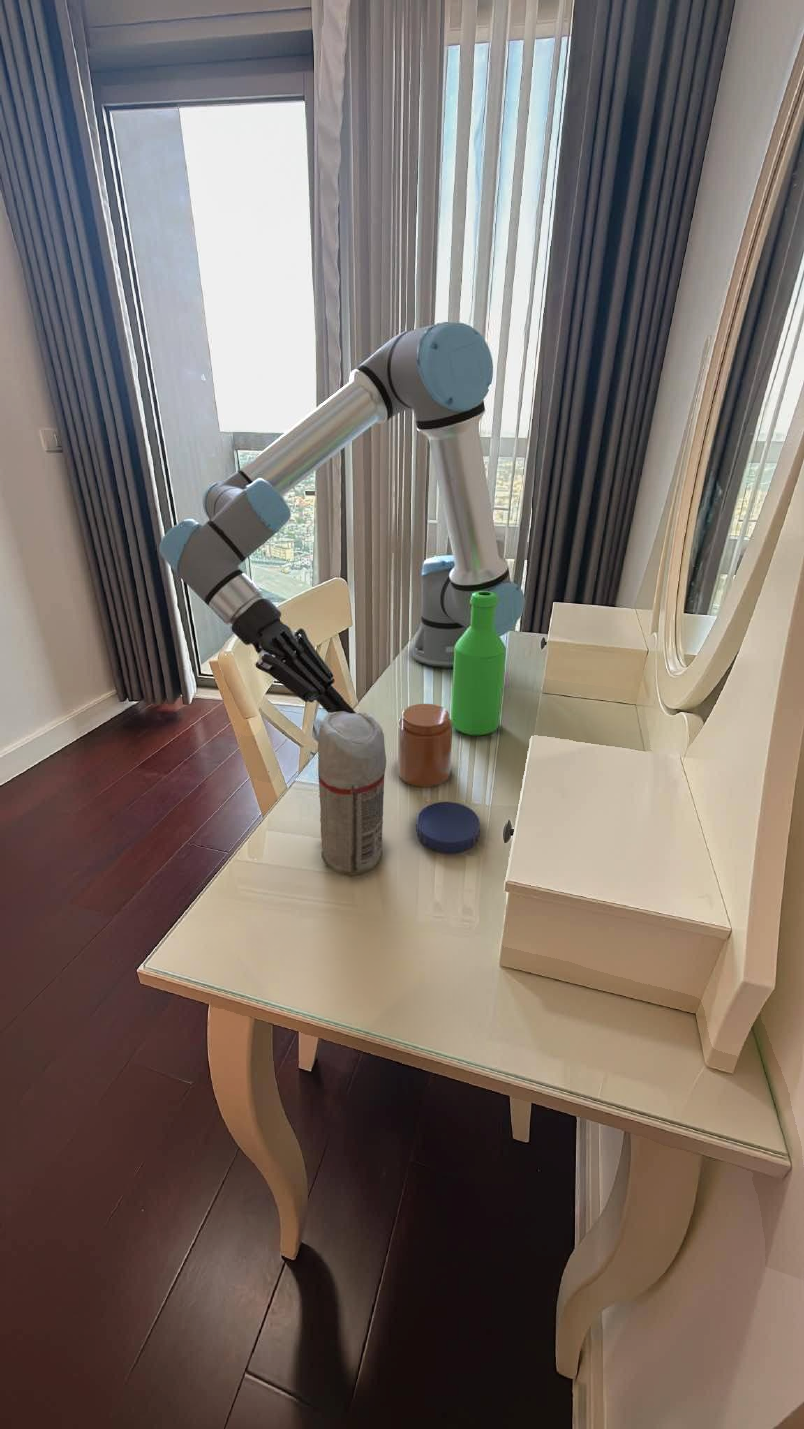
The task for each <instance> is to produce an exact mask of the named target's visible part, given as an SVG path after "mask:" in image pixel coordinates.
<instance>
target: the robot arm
mask: <svg viewBox="0 0 804 1429" xmlns="http://www.w3.org/2000/svg"><path fill="white" fill-rule="evenodd" d="M493 377H494V362H493V356H492V352H491V350H490V347H489V345H488V343H487V341H486V340H485V338H484V337H483V335H482V334H481V333H480V332H479V331H477V329H475V328H474V327H473V326H472V325H469V324H466V323H464V322H448V321H444V322H439V323H435V324H431V325H428V326H427V325H426V326H423V327H419V328H412V329H408V330H405V331H403V332H400V333H399V334H397V335H395V336H394V337H392V338H390V339H389V340H388V341H387V342H386V343H384V344H383V345H382V346H381V347H380V348H379V349H377V350H376V351H375V352H374V353H373V354H372V355H370V357H368V358H366V359H365V360H364V361H363V362H362V363H361V364H360V365H358V366H357V367H356V368H355V369H353V370H352V371H351V372H350V374H349V382H348V383H347V384H345V385H344V386H343V387H341V388H340V389H339V390H338V391H337V392H335V393H334V394H333V395H331V396H330V397H329V398H328V399H326V400H325V401H324V402H322V403H321V404H319V405H318V407H316V408H315V409H314V410H312V411H311V412H310V413H309V414H307V415H306V416H305V417H304V418H302V419H300V420H299V421H298V422H296V424H295V425H294V426H292V427H290V429H288V430H287V431H286V432H285V433H283V434H282V435H281V436H280V437H279V438H277V439H276V440H275V441H273V442H272V443H271V444H270V445H268V446H267V447H266V448H265V449H263V450H262V451H261V452H259V453H258V454H257V455H256V456H255V457H253V458H252V459H250V460H249V461H248V462H246V463H245V464H244V465H243V466H242V467H241V468H239V469H238V470H237V471H236V472H234V473H233V474H231V475H230V476H229V477H227V478H226V479H225V480H223V481H217V482H214V483H212V484H210V485H209V486H208V487H207V488H206V490H205V491H204V493H203V496H202V507H203V511H204V513H205V515H206V517H207V519H209V520H207V521H206V522H205V523H203V524H201V523H199V522H197V521H196V520H195V519H192V518H186V519H183V520H181V521H180V522H179V523H178V524H175V525H174V526H171V528H170V529H169V530H167V531H166V533H165V534H164V536H163V537H162V538H161V541H160V543H159V550H158V551H159V554H160V555H161V557H162V558H163V560H164V561H165V562H166V563H167V564H168V565H169V567H170V568H171V569H172V570H173V571H174V572H175V574H176V575H177V576H178V577H179V578H180V579H181V580H182V581H183V582H184V583H185V584H186V585H187V586H188V587H189V588H190V589H191V590H192V591H193V592H194V593H195V594H196V595H197V596H198V597H199V598H200V599H201V600H202V601H203V602H204V603H205V604H206V605H207V606H208V607H209V608H210V609H211V610H212V611H213V612H214V613H215V614H216V616H217V617H218V618H220V620H221V621H222V622H223V623H224V624H225V625H227V626H231V628H230V629H231V632H233V634H234V635H235V636H236V637H237V638H238V639H239V640H240V641H241V642H242V643H243V644H244V645H245V646H251V645H252V646H253V648H254V651H255V652H256V653H257V654H258V660H257V661H256V662H255V664H254V665H255V666H254V667H255V668H256V669H258V670H259V671H261V672H264V673H266V674H268V675H270V676H271V677H272V678H273V679H274V680H276V681H277V682H278V683H280V684H281V685H282V686H284V687H285V688H286V689H287V690H289V691H290V692H291V693H293V694H294V695H296V696H297V697H298V698H299V699H300V700H302V701H303V702H304V703H308V702H309V703H312V704H313V703H314V701H316V702H317V703H318V704H319V705H320V706H321V707H322V708H323V709H324V710H325V711H326V712H327V714H328V713H333V712H341V711H344V712H347V713H350V714H352V713H357V712H356V711H355V709H353V708H352V706H350V704H349V703H348V702H347V701H345V699H344V697H343V696H342V695H341V694H340V693H339V691H337V690H336V689H335V687H333V684H334V683H335V679H334V674H333V672H332V671H331V669H330V668H329V667H328V665H327V663H326V662H325V661H324V660H323V658H322V657H321V656H320V654H319V653H318V651H317V650H316V649H315V647H314V646H313V644H312V642H311V641H310V640H309V638H308V635H307V633H306V631H305V630H304V629H303V628H302V627H300V628H299V629H297V630H292V629H291V628H290V627H289V626H288V625H287V624H285V623H284V622H282V621H281V618H282V612H281V610H280V609H279V608H278V607H277V606H276V605H275V604H274V603H273V602H272V601H271V599H269V597H265V596H264V597H263V594H264V593H263V590H261V589H260V588H259V586H258V585H256V583H255V582H254V581H253V580H252V579H251V578H250V577H249V576H248V575H247V574H246V573H245V572H244V571H243V570H242V569H241V568H240V567H239V566H240V565H241V564H242V563H243V562H245V561H246V560H247V559H248V558H249V557H251V555H253V554H254V553H255V552H256V551H257V550H258V549H260V548H261V546H263V545H264V544H266V543H267V541H269V540H270V539H271V538H272V537H273V536H275V535H276V534H278V533H279V532H280V530H281V529H282V528H283V527H284V526H285V525H286V524H287V523H288V522H289V521H290V519H291V518H292V511H291V509H290V507H289V505H288V504H287V502H286V500H285V499H284V498H283V497H284V496H285V495H286V494H288V493H289V492H290V491H291V490H293V489H294V488H295V487H297V486H298V485H299V484H300V483H302V482H303V481H304V480H305V479H307V478H308V477H309V476H310V475H312V474H313V473H314V472H315V471H316V470H318V469H319V468H321V467H322V466H323V465H324V464H326V463H327V462H328V461H329V460H330V459H332V458H333V457H334V456H336V455H337V454H338V453H339V452H341V450H343V449H344V448H345V447H347V446H348V445H349V444H351V442H353V441H355V439H356V438H358V437H359V436H361V434H363V433H364V432H365V431H367V430H368V429H369V428H371V426H372V425H374V424H378V425H384V424H385V423H386V422H388V421H389V420H390V419H391V418H393V417H394V416H396V415H398V414H400V413H403V412H406V411H410V410H412V411H413V412H412V413H413V415H414V416H413V417H414V421H415V426H416V429H417V431H418V432H419V433H420V434H422V435H424V436H425V437H427V439H428V443H429V448H430V453H431V457H432V462H433V468H434V472H435V476H436V480H437V482H436V483H437V486H438V491H439V496H440V500H441V505H442V510H443V514H444V520H445V525H446V530H447V534H448V539H449V544H450V548H451V553H452V554H448V555H440V556H434V557H429V558H427V559H424V561H423V563H422V567H421V574H420V578H421V591H420V592H421V601H420V625H419V627H418V630H417V633H416V636H415V639H414V642H413V645H412V656H413V658H414V660H415V661H417V662H418V663H421V664H423V665H426V666H429V667H433V668H442V669H443V668H444V669H453V668H454V650H455V645H456V643H457V642H458V640H459V639H460V638H461V637H462V635H463V634H464V633H465V632H466V630H467V629H468V628H469V627H470V625H471V610H472V605H471V604H470V600H471V597H472V594H473V593H475V592H479V591H488V592H492V593H494V594H496V595H497V598H498V605H497V606H495V619H494V628H495V630H496V631H497V633H498V635H499V636H500V637H502V636H504V635H505V634H507V633H509V632H510V631H511V630H512V629H513V628H514V627H515V626H516V625H517V623H518V621H519V619H520V618H521V617H522V614H523V612H524V609H525V603H526V599H525V594H524V591H523V589H522V588H521V587H520V586H519V585H518V584H517V583H515V582H512V580H511V575H510V568H509V563H508V560H506V559H505V558H503V557H502V556H500V555H499V549H498V542H497V536H496V531H495V530H496V529H495V524H494V517H493V510H492V505H491V498H490V492H489V491H490V490H489V485H488V479H487V473H486V467H485V461H484V454H483V448H482V447H483V446H482V442H481V441H482V440H481V435H480V428H479V423H480V421H481V420H482V418H483V416H484V414H485V413H486V407H485V401H484V399H486V397H487V396H488V394H489V391H490V389H489V387H490V385H492V384H493V383H492V382H493Z"/></svg>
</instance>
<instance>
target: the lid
mask: <svg viewBox="0 0 804 1429" xmlns="http://www.w3.org/2000/svg"><path fill="white" fill-rule="evenodd" d="M480 822H481V821H480V818H479V816H478V815H477V813H476V812H475V811H474V810H472V808H470V807H469V806H466V805H464V804H462V803H458V802H452V801H439V802H434V803H431V804H429V805H427V806H425V807H424V808H422V810H421V811H420V812H419V813H418V815H417V817H416V825H415V831H416V836H417V837H418V840H419V842H420V843H421V844H423V845H424V846H425V847H427V848H428V849H430V850H432V851H435V852H438V853H443V854H457V853H462V852H465V851H467V850H469V849H471V848H472V847H473V846H474V845H475V844H476V843H477V842H478V840H479V838H480V833H481V828H480V827H481V823H480Z"/></svg>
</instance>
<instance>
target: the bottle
mask: <svg viewBox="0 0 804 1429" xmlns="http://www.w3.org/2000/svg"><path fill="white" fill-rule="evenodd" d="M470 604H471V605H472V610H471V625H470V627H469V628H468V629H467V630H466V632H465V633H464V634H463V635H462V637H461V638H460V639H459V640H458V642H457V643H456V645H455V650H454V668H452V689H451V691H452V692H451V711H450V720H451V721H452V724H453V728H454V729H456V730H457V731H458V732H459V733H462V734H464V735H468V736H472V737H473V736H476V737H479V736H485V735H489V734H491V733H493V732H494V731H496V730H497V729H498V728H499V724H500V718H501V707H502V698H503V688H504V676H505V667H506V656H507V647H506V645H505V644H504V641H503V640H502V638H501V636H499V635H498V633H497V631H496V630H495V628H494V619H495V606H497V605H498V598H497V595H496V594H494V593H492V592H488V591H479V592H475V593H473V594H472V597H471V600H470Z"/></svg>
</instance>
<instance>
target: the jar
mask: <svg viewBox="0 0 804 1429" xmlns="http://www.w3.org/2000/svg"><path fill="white" fill-rule="evenodd" d="M453 728H454V726H453V724H452V721H451V718H450V713H449V711H448V710H447V709H446V708H444V707H442V706H440V705H437V704H433V703H418V704H413V705H409V706H407V707H406V708H405V709H404V710H403V711H402V712H401V717H400V718H399V720H398V723H397V774H398V776H399V778H400V779H401V780H402V781H403V782H405V783H406V784H408V785H410V786H414V787H417V788H430V787H431V788H432V787H436V786H440V785H442V784H443V783H446V781H448V779H449V778H450V777H451V766H452V765H451V764H452V747H453V744H452V743H453Z"/></svg>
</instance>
